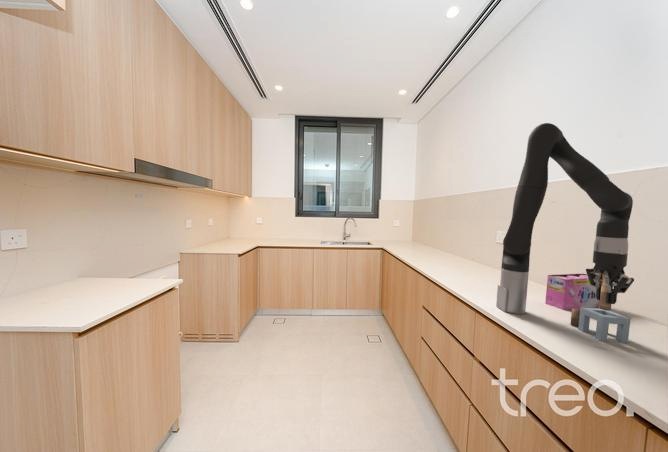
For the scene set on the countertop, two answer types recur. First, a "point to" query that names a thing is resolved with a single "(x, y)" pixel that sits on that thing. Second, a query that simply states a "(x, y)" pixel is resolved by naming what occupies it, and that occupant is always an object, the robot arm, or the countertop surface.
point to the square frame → (604, 323)
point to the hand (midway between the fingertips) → (605, 301)
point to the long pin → (604, 296)
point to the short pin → (575, 317)
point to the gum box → (571, 292)
